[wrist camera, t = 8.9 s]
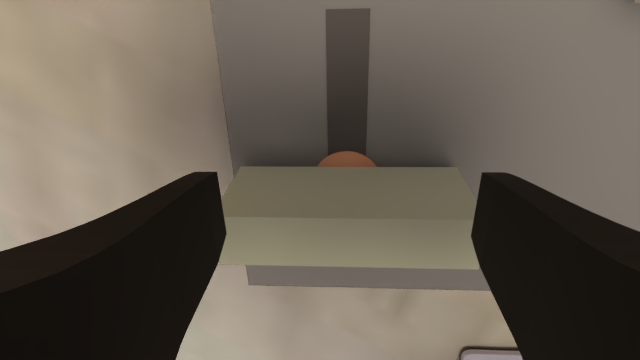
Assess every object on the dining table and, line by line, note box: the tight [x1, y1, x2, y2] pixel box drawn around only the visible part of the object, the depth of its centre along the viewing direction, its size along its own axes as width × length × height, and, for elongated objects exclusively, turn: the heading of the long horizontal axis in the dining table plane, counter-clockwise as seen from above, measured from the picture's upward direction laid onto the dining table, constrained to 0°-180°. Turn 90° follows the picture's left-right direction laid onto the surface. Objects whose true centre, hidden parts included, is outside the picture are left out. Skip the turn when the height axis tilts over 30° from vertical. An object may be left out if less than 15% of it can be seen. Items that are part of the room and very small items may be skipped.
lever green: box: [219, 166, 479, 270], centre depth 15 cm, size 2×9×4 cm, turn 91°
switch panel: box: [210, 0, 640, 291], centre depth 17 cm, size 16×24×2 cm, turn 91°
